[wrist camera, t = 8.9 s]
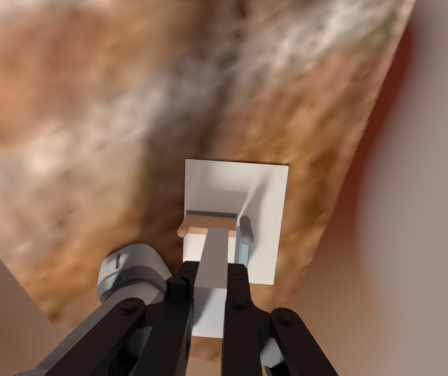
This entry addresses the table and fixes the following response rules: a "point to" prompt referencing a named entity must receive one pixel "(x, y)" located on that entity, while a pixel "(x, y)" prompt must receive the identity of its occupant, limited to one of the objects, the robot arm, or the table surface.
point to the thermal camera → (116, 293)
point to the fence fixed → (245, 239)
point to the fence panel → (206, 225)
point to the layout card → (238, 209)
